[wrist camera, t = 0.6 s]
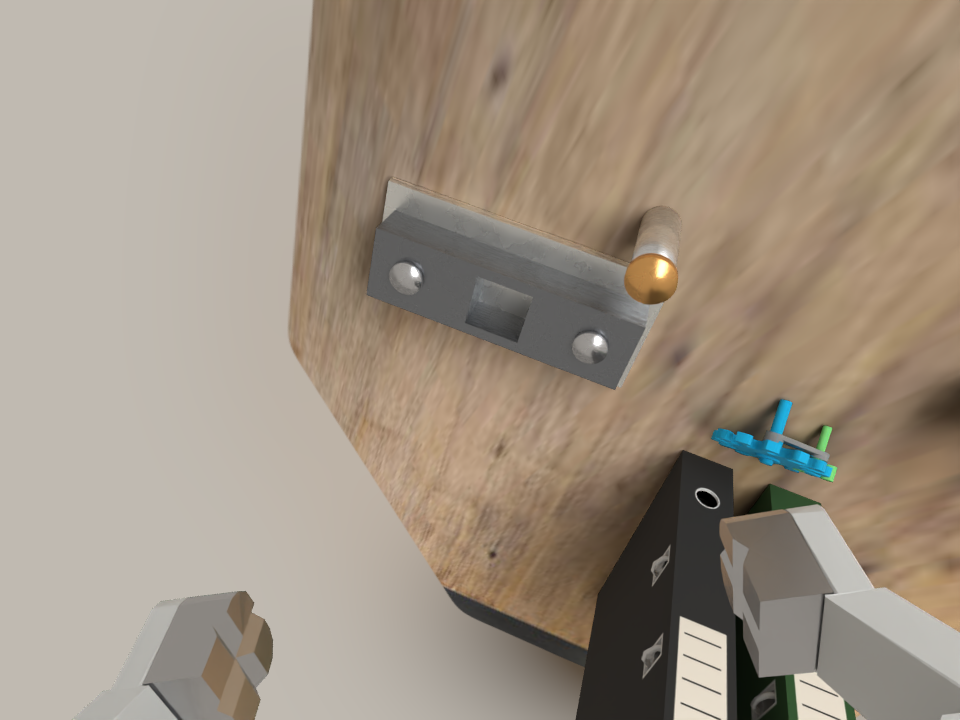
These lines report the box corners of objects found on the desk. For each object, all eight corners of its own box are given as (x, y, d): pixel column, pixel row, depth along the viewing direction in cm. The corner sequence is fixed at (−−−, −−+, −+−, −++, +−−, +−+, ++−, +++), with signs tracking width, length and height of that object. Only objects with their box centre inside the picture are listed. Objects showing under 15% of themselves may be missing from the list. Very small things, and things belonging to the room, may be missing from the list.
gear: (690, 440, 62) (745, 447, 52) (710, 382, 62) (768, 379, 52) (791, 480, 63) (865, 495, 53) (810, 423, 63) (886, 428, 53)
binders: (699, 636, 80) (689, 967, 56) (587, 590, 82) (527, 892, 57) (820, 503, 63) (883, 893, 39) (676, 447, 65) (647, 789, 40)
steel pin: (639, 203, 52) (624, 257, 44) (685, 203, 51) (679, 259, 43) (637, 244, 54) (623, 303, 46) (682, 246, 53) (675, 306, 45)
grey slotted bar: (375, 287, 65) (350, 315, 60) (393, 176, 57) (365, 199, 53) (622, 381, 62) (614, 418, 58) (673, 278, 55) (669, 311, 50)
